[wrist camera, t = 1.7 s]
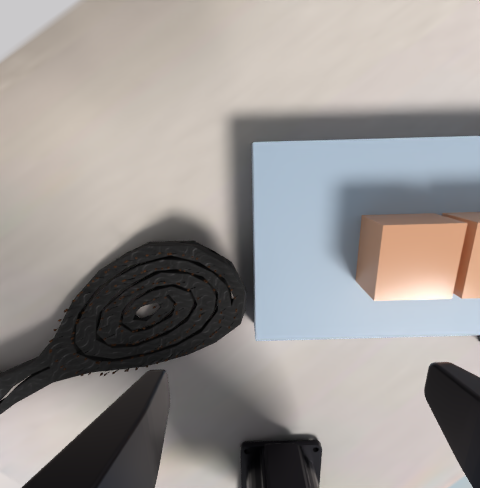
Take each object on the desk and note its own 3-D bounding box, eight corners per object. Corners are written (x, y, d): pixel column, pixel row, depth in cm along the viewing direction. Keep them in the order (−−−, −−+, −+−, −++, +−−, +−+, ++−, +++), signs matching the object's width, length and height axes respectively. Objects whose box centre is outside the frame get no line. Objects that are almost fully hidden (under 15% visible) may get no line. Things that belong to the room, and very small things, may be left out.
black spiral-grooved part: (-125, 394, 19) (199, 221, 14) (-66, 356, 23) (209, 207, 18) (-34, 474, 21) (273, 344, 17) (7, 427, 25) (269, 310, 20)
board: (481, 317, 20) (506, 334, 18) (254, 323, 20) (255, 340, 18) (525, 135, 17) (562, 133, 15) (251, 143, 17) (253, 142, 15)
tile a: (422, 279, 17) (451, 298, 15) (355, 280, 17) (374, 300, 15) (433, 213, 16) (467, 223, 14) (361, 214, 16) (383, 225, 14)
